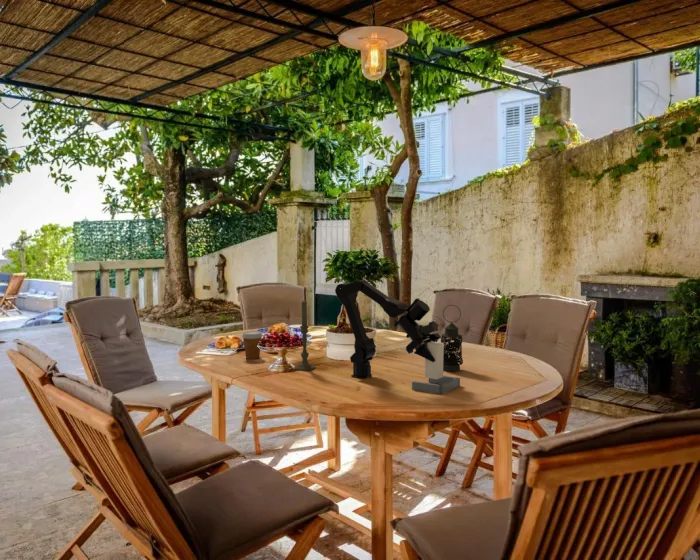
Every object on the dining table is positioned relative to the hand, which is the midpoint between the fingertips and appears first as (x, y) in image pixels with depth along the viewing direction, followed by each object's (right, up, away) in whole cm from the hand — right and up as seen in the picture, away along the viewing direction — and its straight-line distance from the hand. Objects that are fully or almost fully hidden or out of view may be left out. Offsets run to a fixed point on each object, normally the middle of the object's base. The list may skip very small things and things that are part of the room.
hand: (437, 360), depth 223 cm
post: (-1, -7, +1) cm, 7 cm away
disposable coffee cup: (-79, -7, +59) cm, 99 cm away
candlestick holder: (-53, -9, +36) cm, 64 cm away
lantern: (+10, -9, +30) cm, 33 cm away
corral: (-1, -11, +1) cm, 11 cm away
